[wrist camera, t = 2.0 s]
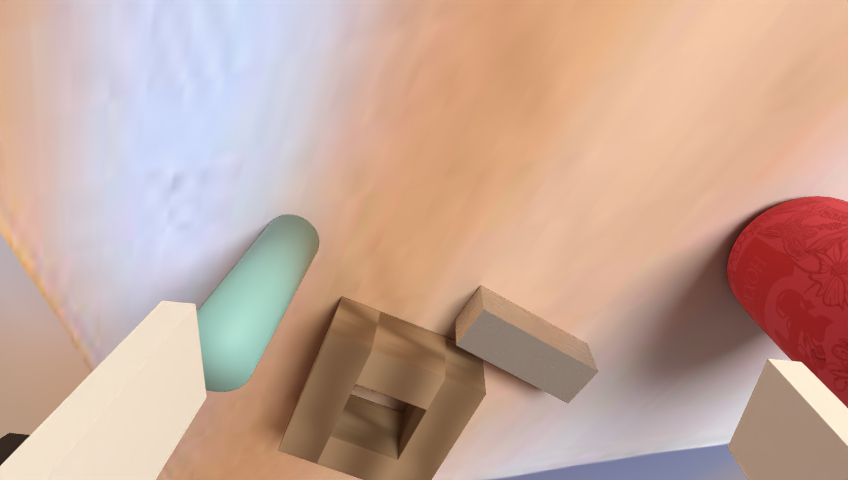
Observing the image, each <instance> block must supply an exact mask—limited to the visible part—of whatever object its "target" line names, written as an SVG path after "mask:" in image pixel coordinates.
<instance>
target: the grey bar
mask: <svg viewBox="0 0 848 480" xmlns="http://www.w3.org/2000/svg"><path fill="white" fill-rule="evenodd" d="M455 320H456V345H457V346H459V347H461V348H463V349H465V350H466V351H468V352H470V353H472V354H474V355H476V356H478V357H480V358H482V359H484V360H486V361H488V362H489V363H491V364H493V365H495V366H497V367H499V368H501V369H503V370H505V371H507V372H509V373H511V374H513V375H514V376H516V377H518V378H520V379H522V380H524V381H526V382H528V383H530V384H532V385H534V386H536V387H537V388H539V389H541V390H543V391H545V392H547V393H549V394H551V395H553V396H555V397H557V398H559V399H561V400H562V401H564V402H566V403H569V402H570V401H571V400H572V399H573V398H574V397H575V395H576V394H577V393H578V392H579V391H580V390H581V389H582V388H583V387H584V386H585V385H586V384H587V383H588V382H589V381H590V380H591V379H592V378H593V376H594V375H595V374H596V373H597V372H598V369H597V367H596V364H595V362H594V360H593V357H592V355H591V352H590V350H589V347H588V345H587V343H585V342H583V341H581V340H579V339H578V338H576V337H574V336H572V335H570V334H569V333H567V332H565V331H563V330H561V329H559V328H558V327H556V326H554V325H552V324H550V323H549V322H547V321H545V320H543V319H541V318H539V317H538V316H536V315H534V314H532V313H530V312H529V311H527V310H525V309H523V308H521V307H520V306H518V305H516V304H514V303H512V302H510V301H509V300H507V299H505V298H503V297H501V296H500V295H498V294H496V293H494V292H492V291H490V290H489V289H487V288H485V287H483V286H480V287H479V288H478V290H477V291H476V292H475V294H474V295H473V296H472V298H471V299H470V300H469V302H468V303H467V304H466V306H465V307H464V308H463V310H462V311H461V312H460V314H459V315H458V316H457V318H456V319H455Z"/></svg>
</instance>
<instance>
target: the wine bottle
mask: <svg viewBox="0 0 848 480" xmlns="http://www.w3.org/2000/svg"><path fill="white" fill-rule="evenodd" d="M727 277H728V282H729V285H730V288H731V290H732V292H733V294H734V296H735V297H736V298H737V300H738V301H739V303H740V304H741V305H742V306H743V308H744V309H745V310H746V311H747V312H748V313H749V315H750V316H751V317H752V318H753V319H754V320H755V321H756V322H757V324H758V325H759V326H760V327H761V328H762V329H763V330H764V331H765V332H766V333H767V335H768V336H769V337H770V338H771V339H772V340H773V341H774V342H775V343H776V344H777V345H778V346H779V348H780V349H781V350H782V351H783V352H784V353H785V354H786V355H787V356H788V357H789V358H790V359H791V360H792V361H797V362H802V363H803V364H804V365H805V366H806V367H807V368H808V369H809V370H810V371H811V372H812V373H813V374H814V375H815V376H816V377H817V378H818V379H819V380H820V381H821V382H822V383H823V384H824V385H825V386H826V387H827V388H828V389H829V390H830V391H831V392H832V393H833V394H834V395H835V396H836V397H837V398H838V399H839V400H840V401H841V402H842V403H843V404H844V405H845V406H846V407H847V408H848V202H846V201H843V200H840V199H836V198H831V197H819V196H815V197H803V198H798V199H794V200H790V201H787V202H784V203H781V204H779V205H777V206H775V207H772V208H771V209H769V210H767V211H765V212H764V213H762V214H761V215H759V216H758V217H757V218H755V219H754V220H753V221H752V222H751V223H750V224H749V225H748V226H747V227H746V228H745V229H744V230H743V231H742V233H741V234H740V235H739V237H738V238H737V240H736V241H735V243H734V245H733V247H732V250H731V252H730V255H729V259H728V264H727Z"/></svg>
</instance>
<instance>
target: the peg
mask: <svg viewBox="0 0 848 480" xmlns="http://www.w3.org/2000/svg"><path fill="white" fill-rule="evenodd" d="M318 248H319V237H318V234H317V232H316V230H315V228H314V227H313V226H312V225H311V224H310V223H309V222H308V221H307V220H305V219H304V218H302V217H299V216H296V215H282V216H279V217H277V218H275V219H273V220H272V221H271V222H270V223H269V225H268V226H267V227H266V228H265V229H264V231H263V232H262V233H261V234H260V236H259V237H258V238H257V239H256V240H255V242H254V243H253V244H252V245H251V247H250V248H249V249H248V250H247V251H246V253H245V254H244V255H243V256H242V257H241V259H240V260H239V261H238V262H237V264H236V265H235V266H234V267H233V268H232V270H231V271H230V272H229V273H228V275H227V276H226V277H225V278H224V279H223V281H222V282H221V283H220V284H219V286H218V287H217V288H216V289H215V290H214V292H213V293H212V294H211V295H210V296H209V298H208V299H207V300H206V301H205V303H204V304H203V305H202V306H201V307H200V309H199V310H198V311H197V321H198V329H199V338H200V346H201V355H202V363H203V371H204V380H205V388H206V390H209V391H215V392H226V391H232V390H235V389H238V388H239V387H241V386H243V385H244V384H245V383H246V382H247V381H248V380H249V378H250V377H251V375H252V373H253V371H254V369H255V367H256V366H257V364H258V362H259V360H260V358H261V356H262V354H263V352H264V350H265V349H266V347H267V345H268V343H269V341H270V339H271V337H272V335H273V334H274V332H275V330H276V328H277V326H278V324H279V322H280V320H281V319H282V317H283V315H284V313H285V311H286V309H287V307H288V305H289V303H290V302H291V300H292V298H293V296H294V294H295V292H296V290H297V288H298V287H299V285H300V283H301V281H302V279H303V277H304V275H305V273H306V272H307V270H308V268H309V266H310V264H311V262H312V260H313V258H314V256H315V255H316V253H317V251H318Z"/></svg>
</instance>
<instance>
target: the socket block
mask: <svg viewBox="0 0 848 480" xmlns="http://www.w3.org/2000/svg"><path fill="white" fill-rule="evenodd" d="M355 384H357V385H360V386H363V387H366V388H368V389H371V390H374V391H377V392H379V393H382V394H385V395H387V396H390V397H393V398H396V399H398V400H401V401H404V402H406V403H408V405H407V407H406V409H405V411H404V412H403V413H401V412H398V411H396V410H393V409H390V408H387V407H385V406H382V405H379V404H376V403H374V402H371V401H368V400H365V399H363V398H360V397H357V396H354V395H352V394H351V392H352V390H353V388H354V386H355ZM485 395H486V389H485V379H484V369H483V359H482V358H480V357H478V356H476V355H474V354H472V353H470V352H468V351H466V350H465V349H463V348H461V347H459V346H457V345H456V341H455V340H452V339H449V338H447V337H444V336H442V335H439V334H437V333H434V332H432V331H429V330H426V329H424V328H421V327H419V326H416V325H414V324H411V323H408V322H406V321H403V320H401V319H398V318H396V317H393V316H391V315H388V314H385V313H383V312H380V311H378V310H375V309H373V308H370V307H367V306H365V305H362V304H360V303H357V302H355V301H352V300H350V299H347V298H344V297H342V298H341V300H340V302H339V305H338V307H337V309H336V312H335V314H334V316H333V319H332V321H331V323H330V326H329V328H328V330H327V333H326V335H325V337H324V339H323V342H322V344H321V346H320V349H319V351H318V353H317V356H316V358H315V360H314V363H313V365H312V367H311V370H310V372H309V374H308V377H307V379H306V381H305V384H304V386H303V388H302V391H301V393H300V395H299V398H298V400H297V402H296V405H295V407H294V410H293V412H292V415H291V418H290V420H289V423H288V425H287V428H286V431H285V433H284V436H283V439H282V441H281V444H280V446H279V449H278V451H281V452H284V453H287V454H290V455H293V456H296V457H299V458H302V459H305V460H308V461H311V462H313V463H316V464H319V465H322V466H325V467H328V468H331V469H334V470H337V471H340V472H343V473H346V474H349V475H352V476H354V477H357V478H360V479H363V480H432V478H433V477H434V475H435V473H436V472H437V470H438V469H439V467H440V466H441V464H442V462H443V461H444V459H445V458H446V456H447V455H448V453H449V451H450V450H451V448H452V447H453V445H454V444H455V442H456V440H457V439H458V437H459V436H460V434H461V433H462V431H463V429H464V428H465V426H466V425H467V423H468V422H469V420H470V418H471V417H472V415H473V414H474V412H475V411H476V409H477V407H478V406H479V404H480V403H481V401H482V400H483V398H484V396H485Z"/></svg>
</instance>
